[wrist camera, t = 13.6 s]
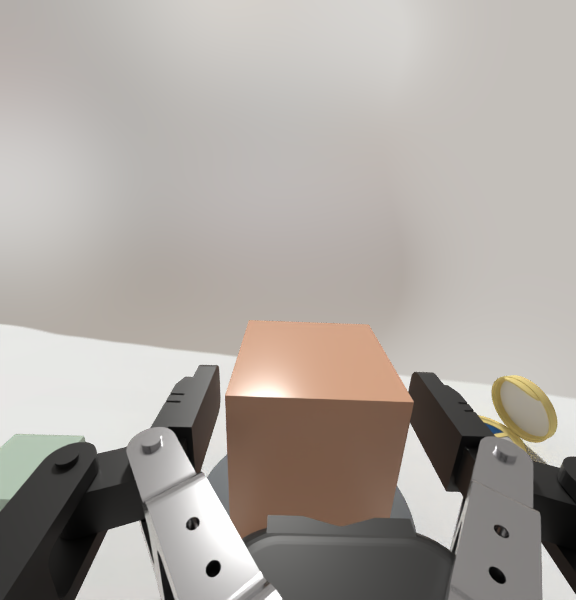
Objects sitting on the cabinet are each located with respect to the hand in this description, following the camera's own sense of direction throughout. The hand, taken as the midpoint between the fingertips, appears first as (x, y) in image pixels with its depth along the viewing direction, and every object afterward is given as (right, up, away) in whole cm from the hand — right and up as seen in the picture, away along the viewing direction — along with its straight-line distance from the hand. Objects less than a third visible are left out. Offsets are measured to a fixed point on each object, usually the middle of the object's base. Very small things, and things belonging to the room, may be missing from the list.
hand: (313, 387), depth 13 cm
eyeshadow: (+13, -7, +9) cm, 17 cm away
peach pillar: (0, -7, +3) cm, 8 cm away
